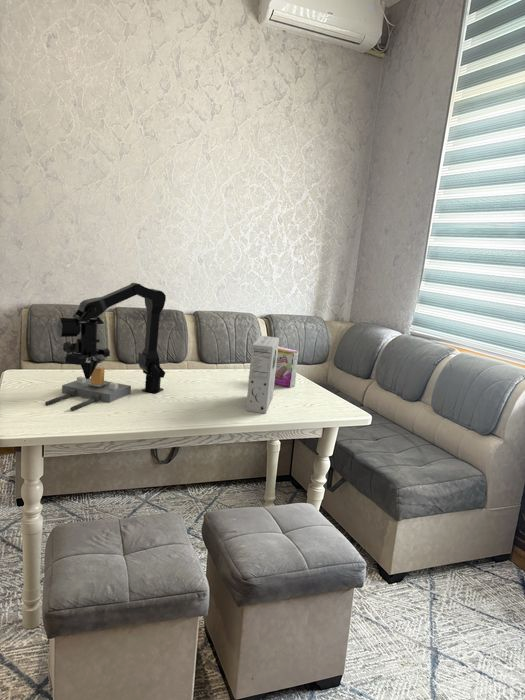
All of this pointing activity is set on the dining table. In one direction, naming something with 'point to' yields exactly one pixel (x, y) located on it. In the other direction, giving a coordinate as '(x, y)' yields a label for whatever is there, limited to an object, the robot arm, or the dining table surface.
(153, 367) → the robot arm
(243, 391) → the dining table surface
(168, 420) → the dining table surface
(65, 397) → the twin dark prongs
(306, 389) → the dining table surface
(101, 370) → the breaker handle
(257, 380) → the cereal box
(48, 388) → the dining table surface
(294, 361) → the candy bar box
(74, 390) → the panel
